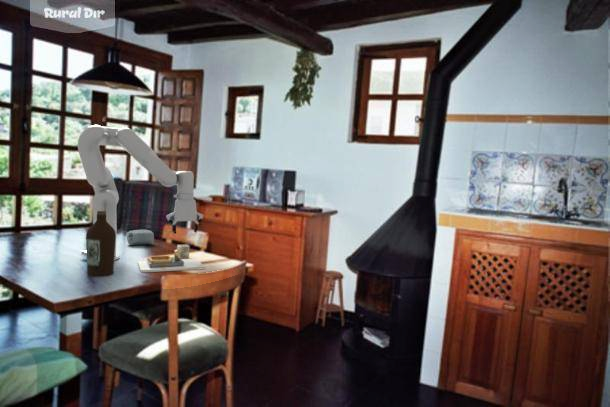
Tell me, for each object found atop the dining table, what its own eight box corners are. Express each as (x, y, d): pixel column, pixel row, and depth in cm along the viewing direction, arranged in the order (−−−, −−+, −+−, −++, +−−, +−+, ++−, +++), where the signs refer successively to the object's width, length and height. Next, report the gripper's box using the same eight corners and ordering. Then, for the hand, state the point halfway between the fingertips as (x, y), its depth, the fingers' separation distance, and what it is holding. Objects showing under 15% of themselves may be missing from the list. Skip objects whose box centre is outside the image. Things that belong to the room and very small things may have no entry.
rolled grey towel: (126, 241, 218) (130, 223, 222) (123, 246, 226) (127, 228, 230) (153, 246, 224) (157, 229, 228) (149, 251, 231) (153, 234, 236)
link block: (178, 259, 200) (179, 246, 200) (176, 257, 204) (177, 244, 204) (189, 258, 202) (189, 246, 202) (187, 256, 207) (187, 244, 206)
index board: (140, 272, 173) (141, 269, 173) (137, 263, 188) (137, 260, 188) (204, 268, 185) (204, 266, 185) (196, 260, 199) (196, 258, 199)
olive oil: (101, 268, 175) (102, 209, 173) (121, 272, 172) (122, 211, 169) (79, 274, 166) (79, 211, 163) (99, 278, 162) (100, 213, 159)
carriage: (149, 267, 178) (149, 253, 177) (146, 261, 187) (147, 248, 186) (183, 265, 184) (184, 252, 183) (179, 260, 193) (179, 247, 192)
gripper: (167, 197, 193) (167, 234, 195) (205, 197, 201) (205, 233, 203) (165, 196, 200) (165, 232, 202) (201, 196, 208) (201, 230, 210)
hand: (185, 232), depth 202 cm, fingers open, 9 cm apart
